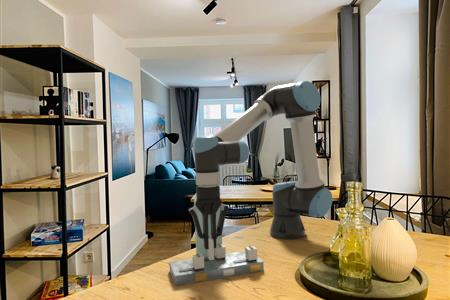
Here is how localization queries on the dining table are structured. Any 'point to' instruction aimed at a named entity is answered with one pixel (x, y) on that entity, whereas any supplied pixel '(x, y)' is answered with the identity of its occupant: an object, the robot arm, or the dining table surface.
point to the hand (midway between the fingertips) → (210, 258)
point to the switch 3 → (251, 253)
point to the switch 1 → (198, 261)
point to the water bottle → (199, 241)
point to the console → (214, 268)
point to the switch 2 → (220, 251)
